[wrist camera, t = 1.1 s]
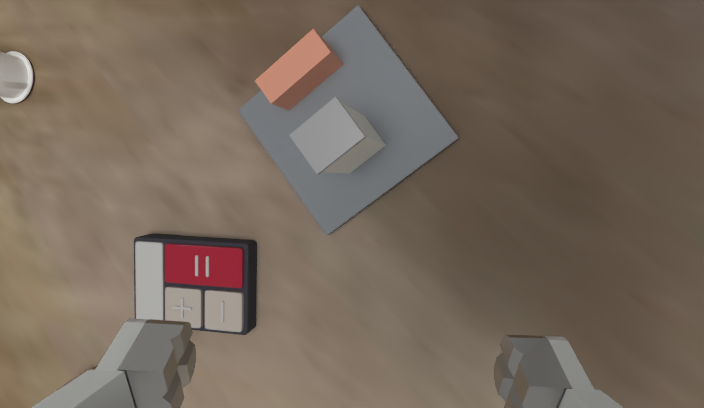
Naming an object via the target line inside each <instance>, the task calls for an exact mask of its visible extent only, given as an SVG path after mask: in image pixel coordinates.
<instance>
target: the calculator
mask: <svg viewBox="0 0 704 408" xmlns="http://www.w3.org/2000/svg"><path fill="white" fill-rule="evenodd" d="M256 274H257V243H256V241H254V240H241V239H226V238H210V237H192V236H179V235H168V234H149V235H144V236H140V237H136V238H135V239H134V286H135V319H148V320H149V319H153V320H168V321H183V322H189V323H191V328H192V330H200V331H211V332H221V333H231V334H241V335H246V334H247V333H248V332H250V331H251V330H252V329H253V328H254V327H255V326H256Z"/></svg>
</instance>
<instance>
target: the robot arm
mask: <svg viewBox="0 0 704 408" xmlns="http://www.w3.org/2000/svg"><path fill="white" fill-rule="evenodd" d="M192 333H193V332H192V328H191V323H189V322H183V321H168V320H153V319H149V320H148V319H133V318H130V319H128V320H127V321H126V322H125V323H124V324H123V326H122V327H121V329H120V330H119V332H118V334H117V335H116V337H115V339H114V340H113V342H112V343H111V345H110V347H109V348H108V350H107V351H106V353H105V355H104V356H103V358H102V359H101V361H100V363H99V364H98V366H97V367H96V369H95V370H88V371H86V372H85V373H83V374H82V375H80V376H79V377H77V378H75V379H74V380H72V381H71V382H69V383H68V384H66V385H65V386H63V387H62V388H60V389H59V390H57V391H56V392H54V393H53V394H51V395H50V396H48V397H47V398H45V399H44V400H42V401H40V402H39V403H37V404H36V405H34V406H33V407H31V408H180V407H181V405H182V402H183V399H184V394H183V389H182V388H183V387H185V386H186V385H187V384H188V383H190V381H191V378H192V375H193V373H194V368H195V363H196V349H195V344H193V343H192V342H191V341H190V337H191V335H192ZM500 346H501V349H502V351H503V353H502V354H500V355H499V356H498V357H497V358H496V362H495V366H494V379H495V385H496V389H497V392H498V395H499V396H501V397H502V398H503V399H504V400H505V401H506V403H505V406H504V408H623V407H622V406H620V405H619V404H618V403H617V402H615V401H614V400H613V399H611V398H610V397H609V396H608V395H606V394H605V393H604V392H602V391H601V390H594V388H593V386H592V384H591V382H590V380H589V379H588V377H587V375H586V373H585V371H584V369H583V368H582V366H581V364H580V362H579V360H578V359H577V357H576V355H575V353H574V351H573V349H572V348H571V346H570V344H569V342H568V340H567V339H566V338H564V337H557V336H527V335H505V336H504V337H503V339H502V342H501V345H500Z"/></svg>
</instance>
